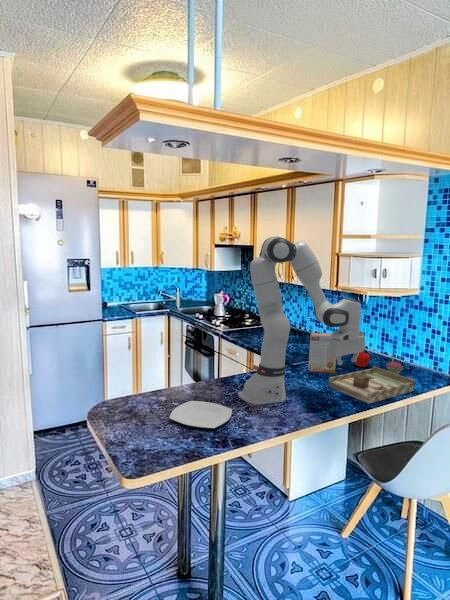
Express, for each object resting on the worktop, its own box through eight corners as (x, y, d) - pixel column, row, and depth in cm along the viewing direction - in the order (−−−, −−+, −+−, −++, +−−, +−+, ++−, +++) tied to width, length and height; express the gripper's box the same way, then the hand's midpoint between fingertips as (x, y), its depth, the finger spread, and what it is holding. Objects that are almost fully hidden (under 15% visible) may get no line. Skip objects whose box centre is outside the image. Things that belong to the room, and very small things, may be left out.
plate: (188, 402, 181) (188, 397, 181) (238, 412, 173) (238, 408, 173) (161, 423, 160) (161, 418, 160) (217, 436, 152) (217, 431, 152)
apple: (351, 367, 240) (352, 353, 239) (354, 363, 248) (355, 350, 247) (367, 370, 236) (369, 356, 235) (370, 366, 244) (371, 352, 243)
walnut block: (361, 389, 199) (362, 378, 198) (353, 385, 203) (353, 375, 202) (368, 387, 201) (369, 377, 201) (359, 383, 205) (360, 374, 205)
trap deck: (368, 403, 188) (369, 392, 187) (328, 386, 207) (329, 375, 207) (413, 391, 206) (415, 380, 205) (372, 376, 226) (373, 366, 225)
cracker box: (333, 370, 233) (336, 333, 229) (335, 374, 227) (338, 336, 223) (307, 368, 234) (310, 331, 231) (308, 372, 228) (311, 334, 225)
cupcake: (385, 375, 227) (387, 354, 226) (385, 371, 235) (387, 350, 234) (402, 378, 225) (405, 356, 223) (401, 373, 233) (403, 352, 231)
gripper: (358, 330, 199) (356, 358, 202) (328, 334, 188) (326, 364, 191) (369, 332, 194) (367, 361, 196) (339, 337, 183) (337, 368, 185)
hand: (346, 363), depth 193 cm, fingers open, 8 cm apart
